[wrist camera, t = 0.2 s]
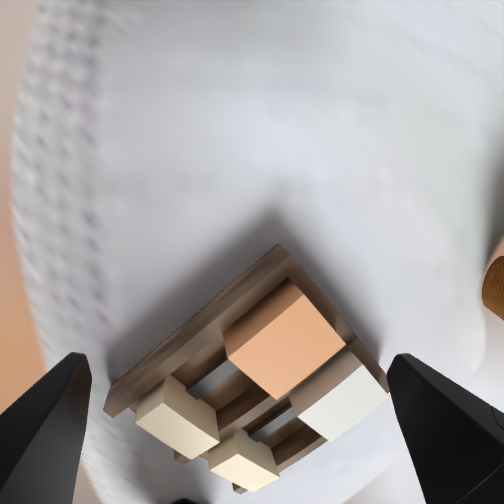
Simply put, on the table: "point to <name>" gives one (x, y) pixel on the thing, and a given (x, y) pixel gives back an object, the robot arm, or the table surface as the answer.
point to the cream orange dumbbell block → (243, 367)
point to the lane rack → (238, 384)
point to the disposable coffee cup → (494, 288)
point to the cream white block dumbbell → (309, 411)
